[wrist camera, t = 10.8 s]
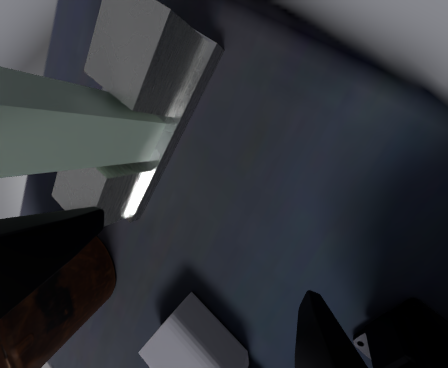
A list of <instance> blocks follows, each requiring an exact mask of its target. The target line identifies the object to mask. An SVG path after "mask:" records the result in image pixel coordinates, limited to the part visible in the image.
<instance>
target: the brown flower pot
mask: <svg viewBox="0 0 448 368" xmlns="http://www.w3.org/2000/svg"><path fill="white" fill-rule="evenodd" d="M115 281H116V279H115V270H114V266H113V262H112V259H111V257H110V255H109V253H108V251H107V249H106V247H105V246H104V244H103V243H102V242H101V240H100V239H99V238H98V237H97V236H95V237H94V238H93V239H92V240H91V241H90V242H89V243H88V244H87V245H86V246H85V247H84V248H83V249H82V250H81V251H80V252H79V253H78V254H77V255H76V256H75V257H74V258H73V259H72V260H70V261H69V262H68V263H67V264H66V265H64V266H63V267H62V268H61V269H60V270H59V271H57V272H56V273H55V274H54V275H53V276H51V277H50V278H49V279H48V280H47V281H45V282H44V283H43V284H42V285H41V286H39V287H38V288H37V289H36V290H35V291H33V292H32V293H31V294H30V295H29V296H27V297H26V298H25V299H24V300H23V301H22V302H20V303H19V304H18V305H17V306H16V307H14V308H13V309H12V310H11V311H10V312H8V313H7V314H6V315H5V316H4V317H2V318H1V319H0V368H41V367H42V366H43V365H44V364H45V363H46V362H47V361H48V360H49V359H50V358H51V357H52V356H53V355H54V354H55V353H56V352H57V351H58V350H59V349H60V348H61V347H62V346H63V345H64V344H65V343H66V342H67V340H68V339H69V338H70V337H71V336H72V335H73V334H74V333H75V332H76V331H77V330H78V329H79V328H80V327H81V326H82V325H83V324H84V323H85V322H86V321H87V320H88V319H89V318H90V317H91V316H92V315H93V314H94V313H95V312H96V311H97V310H98V309H99V308H100V307H101V306H102V305H103V304H104V303H105V302H106V301H107V300H108V299H109V297H110V296H111V295H112V293H113V290H114V287H115Z"/></svg>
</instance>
